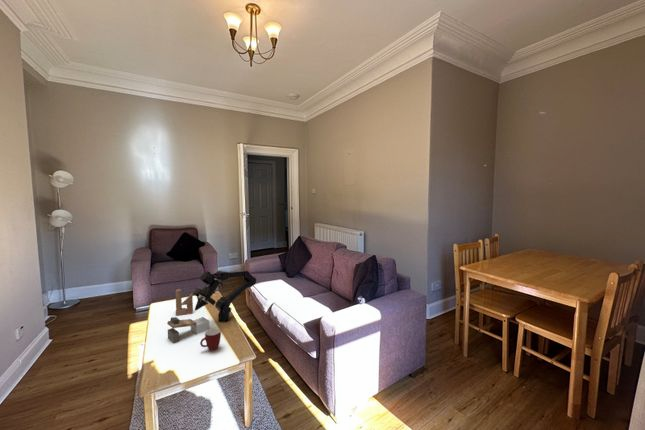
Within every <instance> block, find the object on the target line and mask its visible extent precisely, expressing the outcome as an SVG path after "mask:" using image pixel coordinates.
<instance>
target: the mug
mask: <svg viewBox="0 0 645 430" xmlns="http://www.w3.org/2000/svg"><path fill="white" fill-rule="evenodd" d="M204 333H205V334H204V338H203V337H202V339H201V340H200V343H199V344H200V347H202V348H208V350H209V351H211V352H214V351H215V352H216V350H218V348H219V347H220V342H221V338H222V330H221V328H217V327H215V328H209V329H208V330H206V331H204ZM203 341H205V343H206V344H205V345H204V344H203Z"/></svg>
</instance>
